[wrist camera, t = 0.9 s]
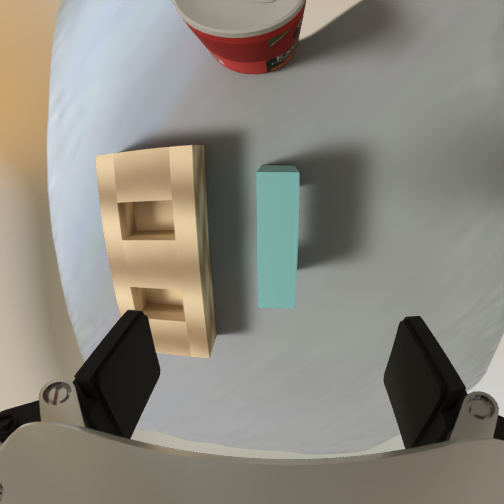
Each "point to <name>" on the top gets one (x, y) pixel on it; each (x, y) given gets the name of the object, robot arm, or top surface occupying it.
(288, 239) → the teal long block
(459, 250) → the top surface
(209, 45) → the canned food
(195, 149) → the tan slotted block
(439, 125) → the top surface
